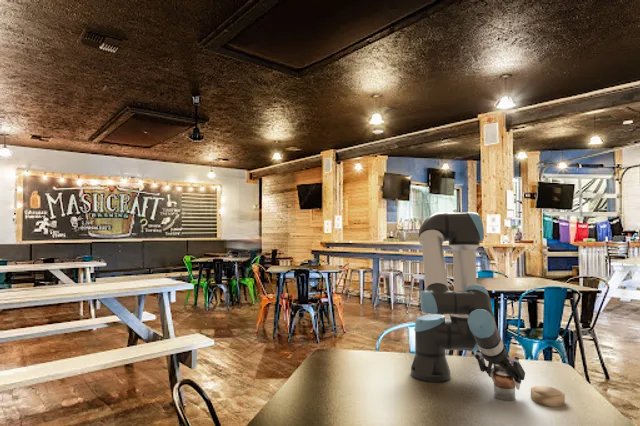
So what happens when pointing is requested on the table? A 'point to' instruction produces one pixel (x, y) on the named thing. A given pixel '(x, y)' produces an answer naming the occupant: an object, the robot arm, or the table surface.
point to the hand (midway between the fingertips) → (507, 383)
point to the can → (503, 384)
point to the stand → (547, 396)
